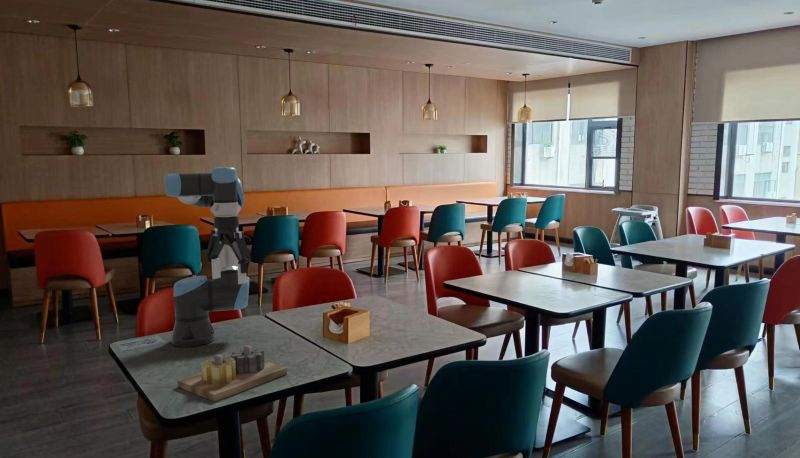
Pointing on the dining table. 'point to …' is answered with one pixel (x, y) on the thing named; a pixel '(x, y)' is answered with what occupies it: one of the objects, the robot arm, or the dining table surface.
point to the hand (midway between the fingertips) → (229, 280)
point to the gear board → (248, 375)
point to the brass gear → (218, 371)
